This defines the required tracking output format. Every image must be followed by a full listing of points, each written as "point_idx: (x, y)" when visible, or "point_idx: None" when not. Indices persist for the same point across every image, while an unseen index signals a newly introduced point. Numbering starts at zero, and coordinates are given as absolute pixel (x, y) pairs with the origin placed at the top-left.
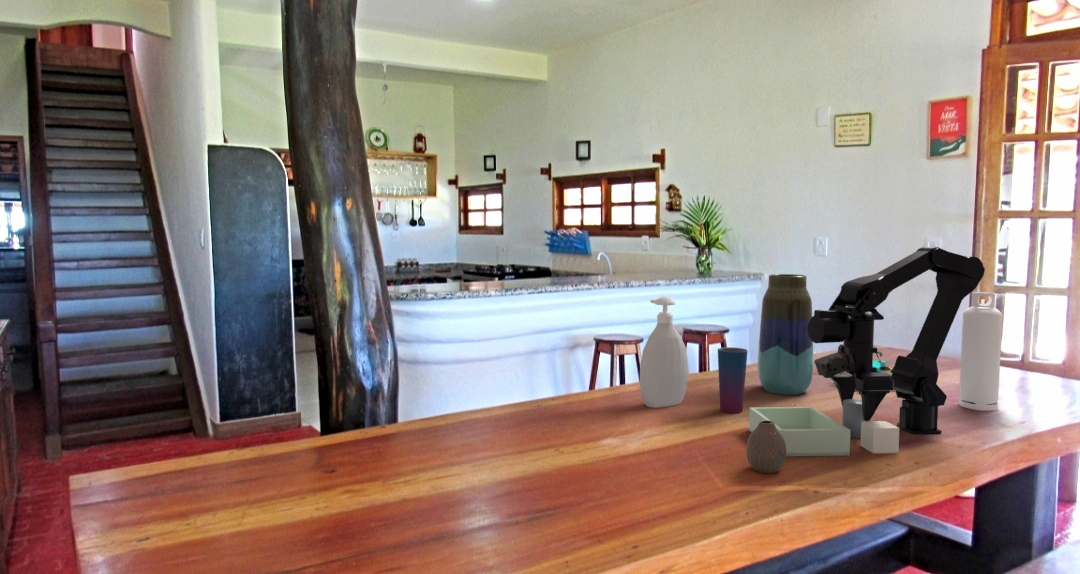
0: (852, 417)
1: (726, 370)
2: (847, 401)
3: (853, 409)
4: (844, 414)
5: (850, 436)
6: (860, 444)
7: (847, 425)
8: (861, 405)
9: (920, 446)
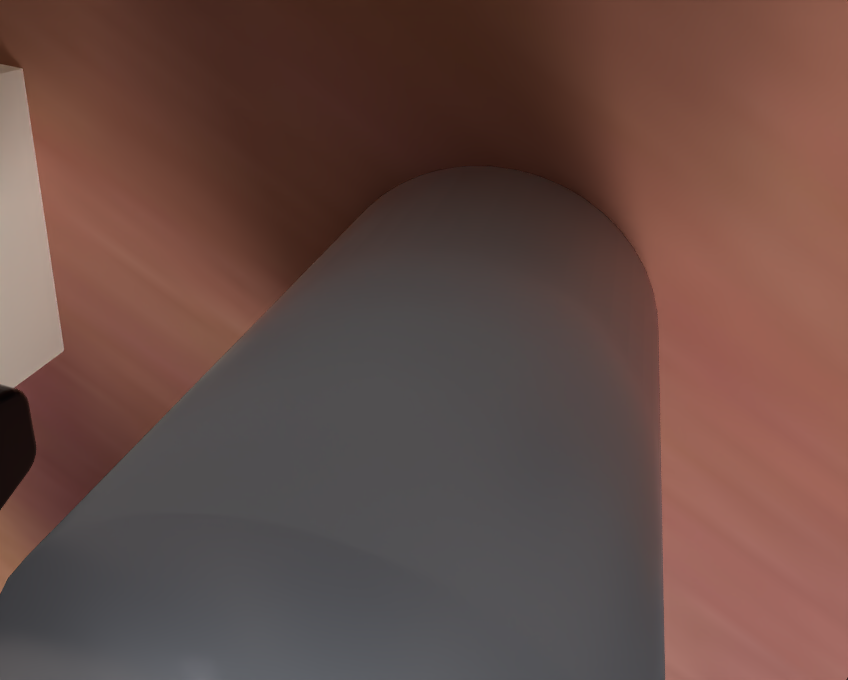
0: (233, 346)
1: None
2: (388, 668)
3: (122, 462)
4: (402, 313)
5: (382, 197)
6: (9, 70)
7: (376, 233)
8: (10, 660)
9: None
